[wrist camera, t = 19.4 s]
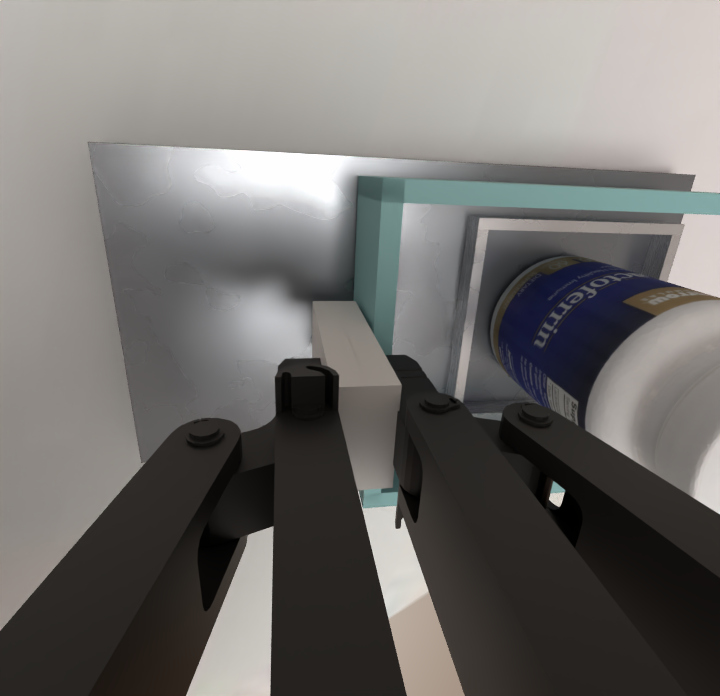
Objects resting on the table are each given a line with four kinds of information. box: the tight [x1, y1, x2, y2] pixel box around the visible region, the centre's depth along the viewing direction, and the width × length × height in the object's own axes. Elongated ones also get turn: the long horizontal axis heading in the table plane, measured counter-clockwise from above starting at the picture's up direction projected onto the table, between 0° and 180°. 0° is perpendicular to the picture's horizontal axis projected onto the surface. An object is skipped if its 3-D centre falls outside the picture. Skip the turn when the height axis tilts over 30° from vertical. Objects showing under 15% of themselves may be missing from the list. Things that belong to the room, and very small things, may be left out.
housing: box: [353, 176, 720, 508], centre depth 16 cm, size 12×11×4 cm
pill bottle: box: [490, 256, 720, 514], centre depth 14 cm, size 6×6×10 cm
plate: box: [88, 142, 695, 463], centre depth 18 cm, size 22×12×2 cm, turn 87°
